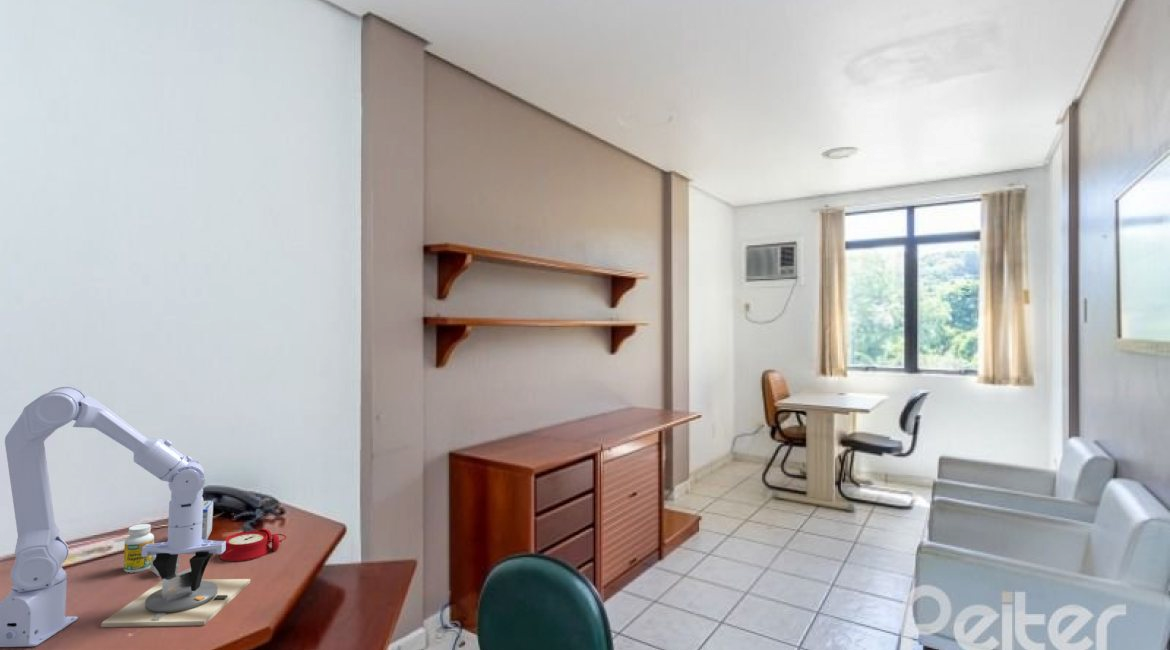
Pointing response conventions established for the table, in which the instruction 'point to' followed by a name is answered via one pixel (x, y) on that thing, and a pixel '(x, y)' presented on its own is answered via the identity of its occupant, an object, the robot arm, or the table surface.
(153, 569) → the usb wall charger
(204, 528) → the medicine box
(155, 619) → the plate
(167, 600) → the twist dial
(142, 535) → the supplement bottle
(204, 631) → the table surface
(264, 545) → the alarm clock
